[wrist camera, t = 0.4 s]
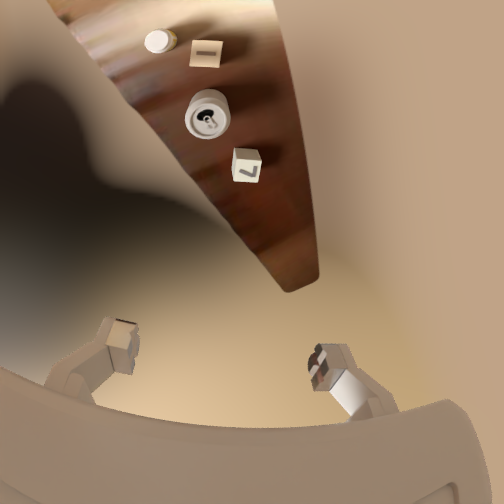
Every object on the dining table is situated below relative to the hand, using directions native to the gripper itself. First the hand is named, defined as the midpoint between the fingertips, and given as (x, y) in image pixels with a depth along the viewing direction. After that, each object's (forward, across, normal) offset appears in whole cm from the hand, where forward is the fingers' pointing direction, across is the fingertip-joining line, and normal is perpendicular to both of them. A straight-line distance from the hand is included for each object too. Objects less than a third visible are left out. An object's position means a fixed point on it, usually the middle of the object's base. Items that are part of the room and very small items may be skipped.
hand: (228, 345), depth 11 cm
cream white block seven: (+52, -3, 0) cm, 52 cm away
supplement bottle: (+44, +17, -22) cm, 52 cm away
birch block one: (+45, +9, -21) cm, 50 cm away
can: (+48, +6, -10) cm, 50 cm away
